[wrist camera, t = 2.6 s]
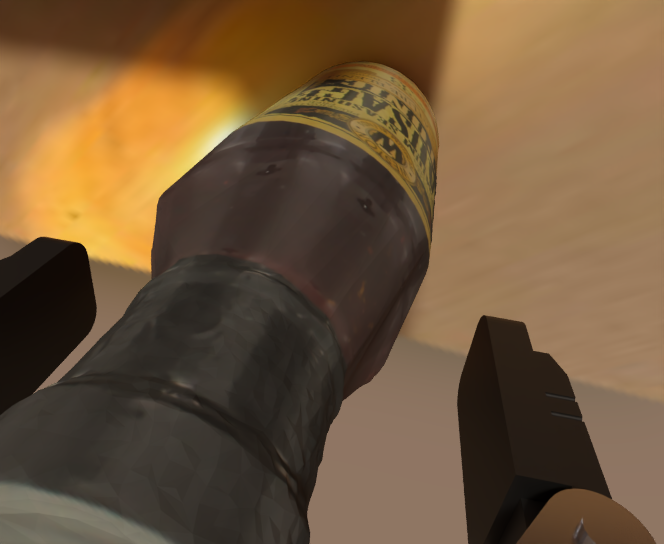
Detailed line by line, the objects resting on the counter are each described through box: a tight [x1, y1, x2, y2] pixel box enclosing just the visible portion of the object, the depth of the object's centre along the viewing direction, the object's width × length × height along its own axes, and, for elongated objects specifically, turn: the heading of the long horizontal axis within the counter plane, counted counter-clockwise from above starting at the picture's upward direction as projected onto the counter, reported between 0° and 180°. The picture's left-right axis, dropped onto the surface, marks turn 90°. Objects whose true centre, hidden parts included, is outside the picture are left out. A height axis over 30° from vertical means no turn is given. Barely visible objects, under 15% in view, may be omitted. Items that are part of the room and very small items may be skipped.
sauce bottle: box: [0, 61, 439, 544], centre depth 13 cm, size 7×6×20 cm
